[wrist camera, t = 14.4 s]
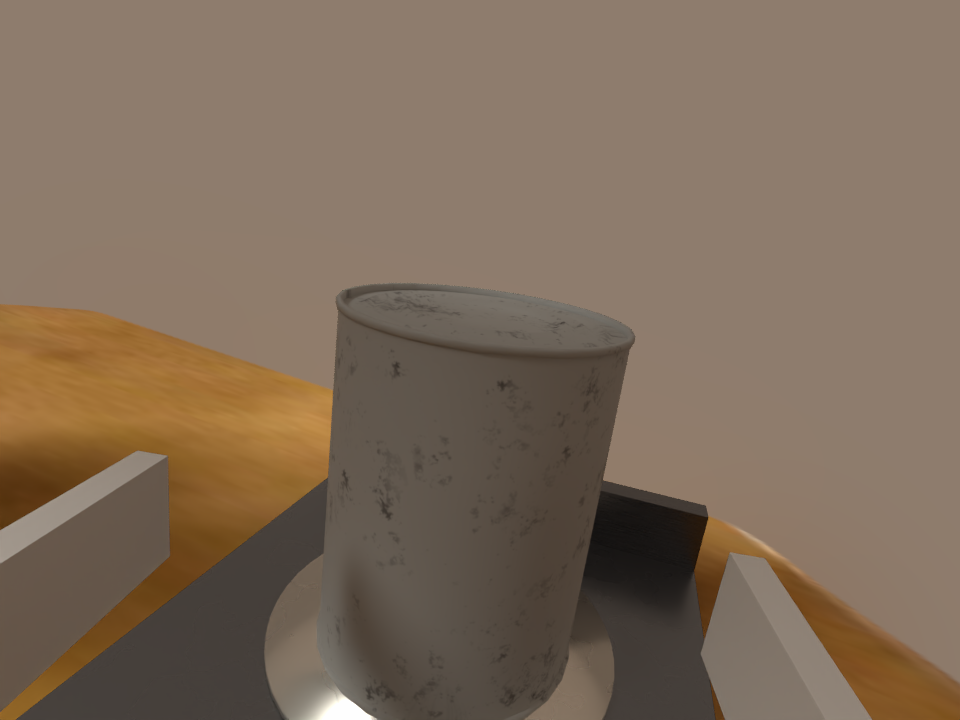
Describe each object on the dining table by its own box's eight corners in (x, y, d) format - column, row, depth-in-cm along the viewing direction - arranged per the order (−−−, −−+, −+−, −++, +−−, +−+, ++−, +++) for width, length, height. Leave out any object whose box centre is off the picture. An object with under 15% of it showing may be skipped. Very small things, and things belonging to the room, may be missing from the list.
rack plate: (-40, 794, 15) (-59, 673, 14) (344, 479, 33) (348, 417, 32) (768, 1222, 10) (834, 1086, 9) (687, 574, 29) (705, 505, 28)
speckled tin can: (443, 524, 28) (473, 281, 24) (614, 631, 22) (683, 331, 19) (264, 613, 20) (273, 285, 17) (448, 807, 15) (514, 369, 11)
